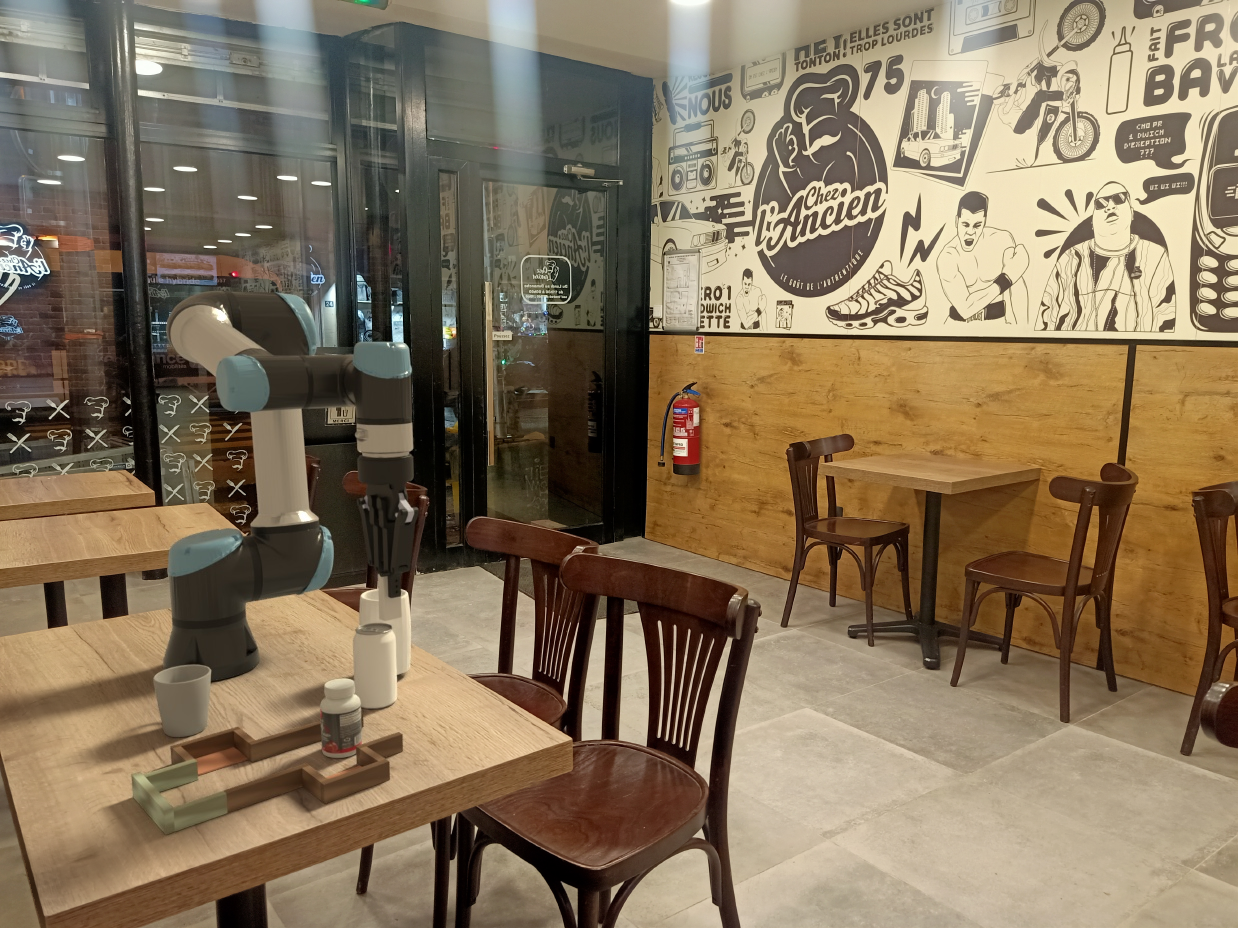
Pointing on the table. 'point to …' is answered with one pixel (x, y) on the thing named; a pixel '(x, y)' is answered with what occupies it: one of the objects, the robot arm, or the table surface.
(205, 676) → the cup
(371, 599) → the cup
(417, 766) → the table surface
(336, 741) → the pill bottle
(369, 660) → the can
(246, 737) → the trap lane
